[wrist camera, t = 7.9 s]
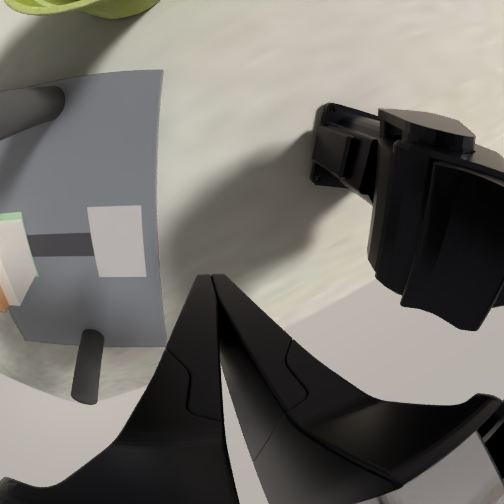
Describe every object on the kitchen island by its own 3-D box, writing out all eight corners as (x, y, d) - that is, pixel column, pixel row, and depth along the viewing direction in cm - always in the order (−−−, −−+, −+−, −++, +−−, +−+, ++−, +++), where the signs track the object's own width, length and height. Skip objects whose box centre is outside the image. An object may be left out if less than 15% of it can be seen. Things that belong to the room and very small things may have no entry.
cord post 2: (101, 329, 22) (92, 392, 17) (106, 344, 24) (100, 405, 18) (79, 328, 22) (66, 390, 16) (85, 343, 23) (76, 403, 17)
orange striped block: (21, 218, 15) (-8, 254, 11) (36, 273, 17) (16, 313, 14) (-5, 221, 14) (-35, 255, 10) (11, 272, 17) (-10, 310, 13)
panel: (163, 71, 14) (162, 69, 13) (166, 337, 26) (166, 347, 25) (-31, 108, 9) (-40, 111, 8) (28, 332, 22) (25, 340, 21)
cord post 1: (66, 82, 11) (6, 87, 6) (64, 118, 13) (6, 141, 7) (36, 89, 11) (-29, 100, 5) (35, 123, 12) (-27, 150, 6)
